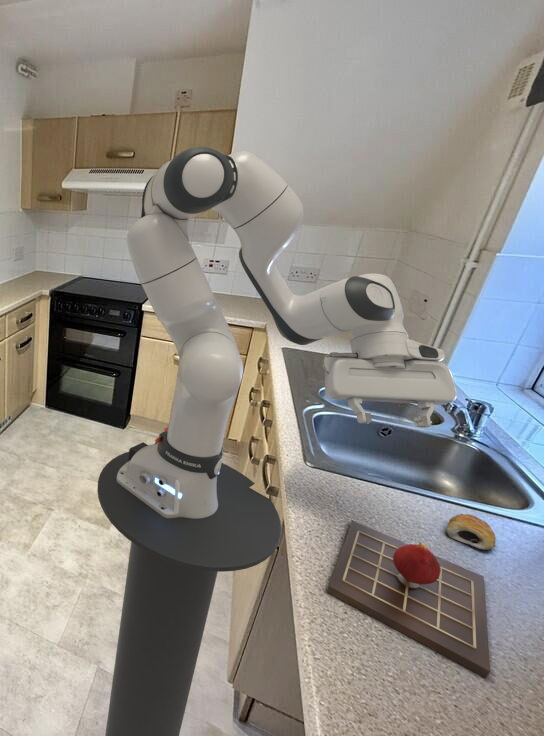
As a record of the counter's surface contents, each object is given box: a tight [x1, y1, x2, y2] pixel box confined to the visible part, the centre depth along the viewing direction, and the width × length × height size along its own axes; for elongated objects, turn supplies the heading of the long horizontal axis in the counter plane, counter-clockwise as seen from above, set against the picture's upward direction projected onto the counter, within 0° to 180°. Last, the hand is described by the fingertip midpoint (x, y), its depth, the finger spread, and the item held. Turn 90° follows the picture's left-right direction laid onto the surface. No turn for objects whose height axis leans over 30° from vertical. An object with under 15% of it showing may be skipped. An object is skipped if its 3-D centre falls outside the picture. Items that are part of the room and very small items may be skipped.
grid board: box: [326, 519, 491, 679], centre depth 71 cm, size 19×22×2 cm
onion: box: [393, 541, 441, 584], centre depth 70 cm, size 6×6×8 cm
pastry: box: [445, 513, 497, 551], centre depth 83 cm, size 9×7×4 cm
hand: (393, 425), depth 76 cm, fingers open, 8 cm apart
